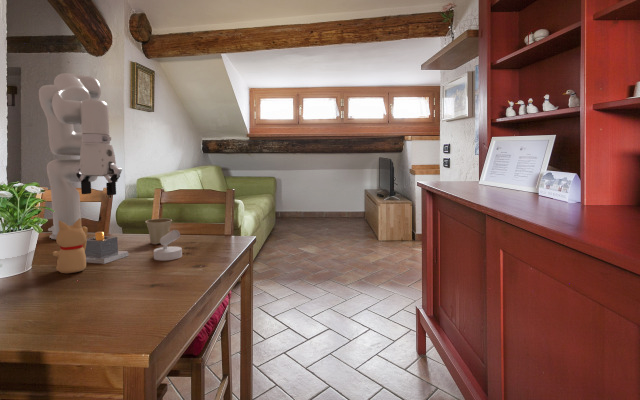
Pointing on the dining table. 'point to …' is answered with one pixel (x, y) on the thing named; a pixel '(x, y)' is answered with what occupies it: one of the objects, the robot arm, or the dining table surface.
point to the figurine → (71, 247)
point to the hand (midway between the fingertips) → (99, 194)
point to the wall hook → (165, 251)
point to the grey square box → (101, 246)
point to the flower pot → (158, 229)
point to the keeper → (109, 257)
